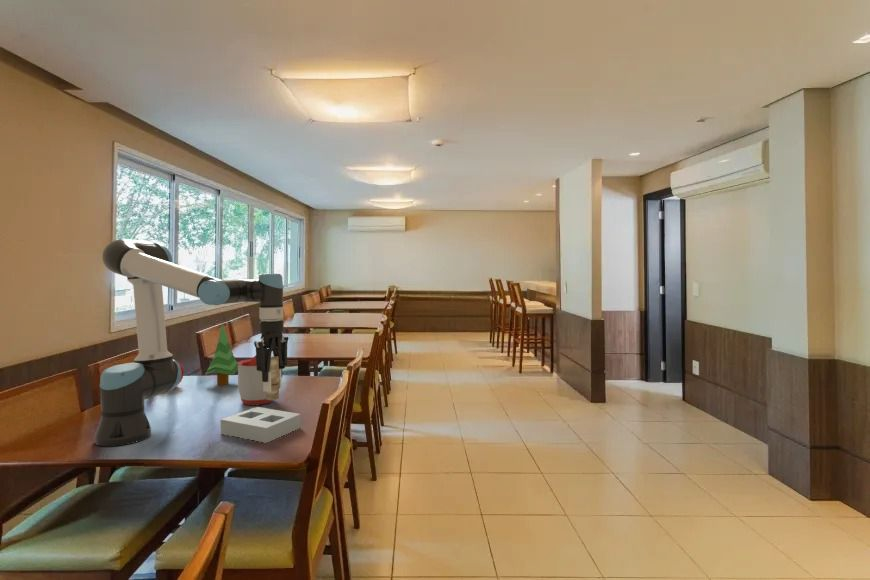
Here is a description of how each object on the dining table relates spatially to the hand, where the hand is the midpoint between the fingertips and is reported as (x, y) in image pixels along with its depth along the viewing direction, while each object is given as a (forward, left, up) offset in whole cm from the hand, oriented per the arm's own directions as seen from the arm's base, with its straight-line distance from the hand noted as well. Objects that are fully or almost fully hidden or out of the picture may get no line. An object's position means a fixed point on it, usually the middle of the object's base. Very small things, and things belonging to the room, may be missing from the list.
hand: (272, 389), depth 154 cm
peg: (0, 0, -3) cm, 3 cm away
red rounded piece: (+26, +87, -15) cm, 92 cm away
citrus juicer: (+26, +32, -15) cm, 44 cm away
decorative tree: (+41, +70, -15) cm, 82 cm away
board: (0, +5, -15) cm, 16 cm away
